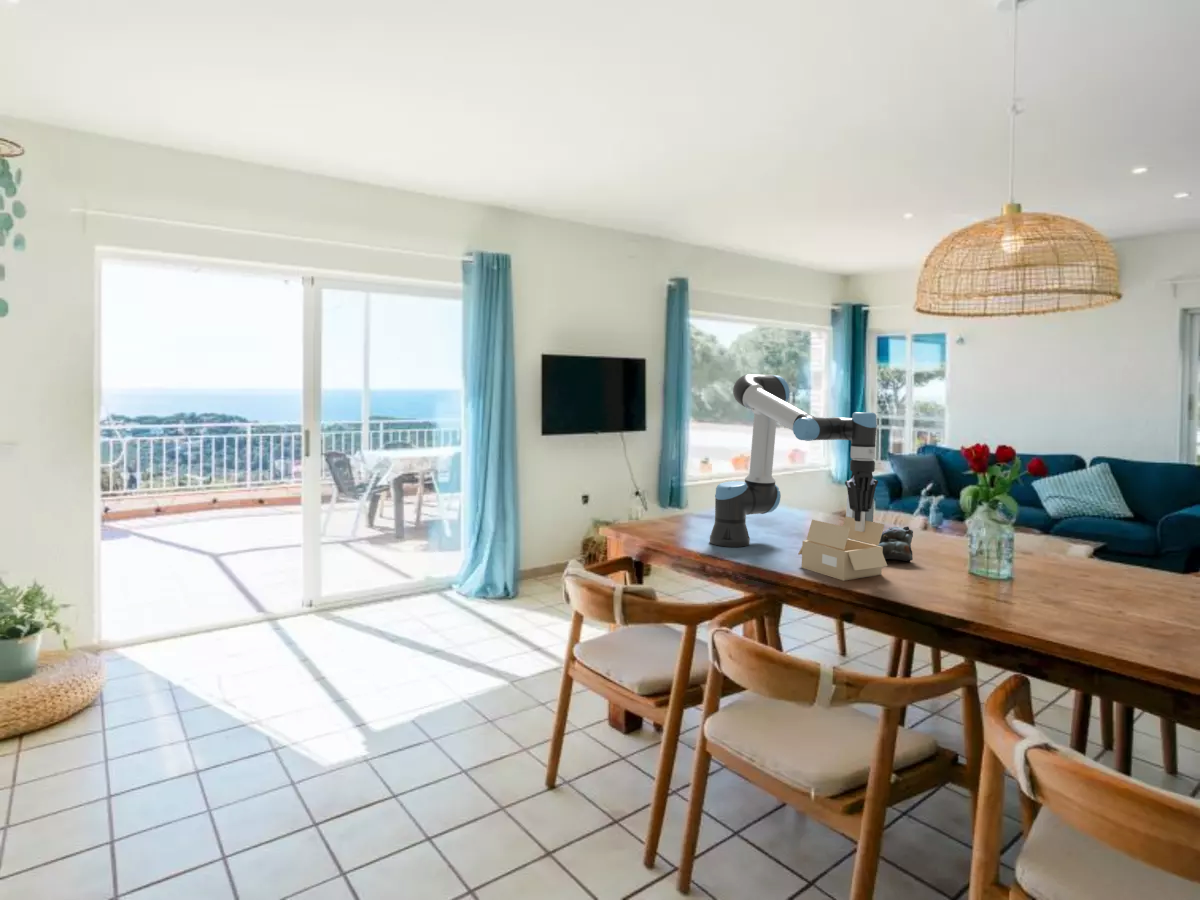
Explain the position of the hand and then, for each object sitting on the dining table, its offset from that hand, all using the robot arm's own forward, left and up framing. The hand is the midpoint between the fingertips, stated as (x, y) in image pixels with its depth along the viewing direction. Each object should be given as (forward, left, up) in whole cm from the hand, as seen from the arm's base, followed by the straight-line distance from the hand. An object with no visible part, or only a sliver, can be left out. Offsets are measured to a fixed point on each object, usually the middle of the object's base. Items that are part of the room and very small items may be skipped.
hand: (859, 530), depth 232 cm
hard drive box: (-22, +24, -13) cm, 35 cm away
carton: (0, -8, -13) cm, 15 cm away
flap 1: (0, -14, 0) cm, 14 cm away
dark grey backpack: (-4, +21, -13) cm, 25 cm away
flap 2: (0, +1, 0) cm, 1 cm away
